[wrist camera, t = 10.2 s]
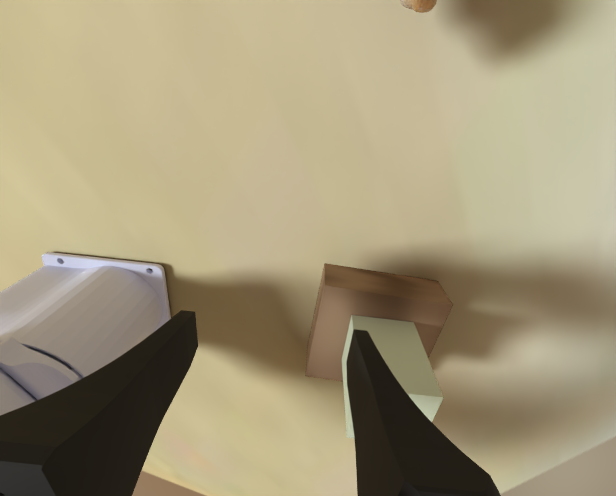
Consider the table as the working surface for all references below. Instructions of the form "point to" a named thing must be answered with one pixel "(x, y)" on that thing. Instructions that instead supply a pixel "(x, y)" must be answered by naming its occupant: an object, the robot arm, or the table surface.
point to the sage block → (397, 362)
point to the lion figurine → (419, 5)
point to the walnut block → (369, 311)
